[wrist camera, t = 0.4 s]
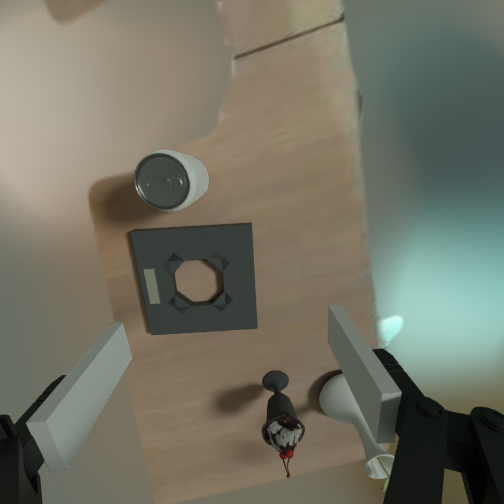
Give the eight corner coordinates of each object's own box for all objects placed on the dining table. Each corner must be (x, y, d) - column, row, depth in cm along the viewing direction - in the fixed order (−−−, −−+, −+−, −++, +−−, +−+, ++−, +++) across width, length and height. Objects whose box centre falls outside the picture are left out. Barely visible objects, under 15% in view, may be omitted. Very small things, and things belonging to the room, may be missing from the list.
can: (208, 203, 38) (193, 217, 27) (164, 199, 38) (131, 211, 27) (210, 157, 36) (195, 151, 25) (164, 152, 36) (127, 144, 25)
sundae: (271, 400, 50) (281, 490, 36) (251, 377, 49) (255, 464, 34) (299, 384, 49) (322, 471, 35) (280, 361, 48) (296, 442, 33)
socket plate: (134, 229, 39) (129, 232, 38) (251, 222, 39) (251, 224, 38) (154, 329, 45) (151, 335, 43) (257, 323, 45) (257, 329, 43)
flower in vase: (307, 380, 49) (367, 577, 25) (362, 356, 48) (480, 541, 24) (333, 424, 53) (405, 632, 29) (385, 403, 52) (506, 603, 28)
